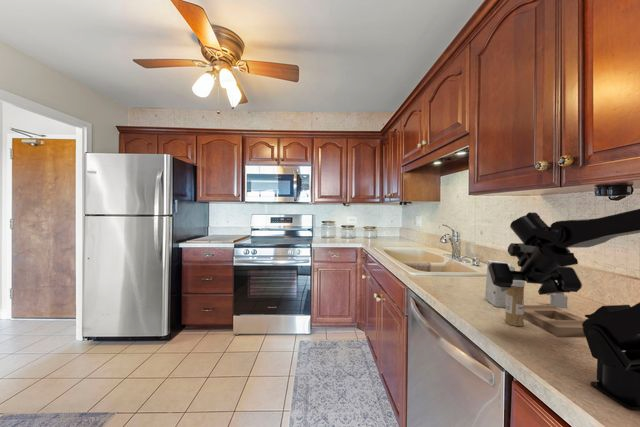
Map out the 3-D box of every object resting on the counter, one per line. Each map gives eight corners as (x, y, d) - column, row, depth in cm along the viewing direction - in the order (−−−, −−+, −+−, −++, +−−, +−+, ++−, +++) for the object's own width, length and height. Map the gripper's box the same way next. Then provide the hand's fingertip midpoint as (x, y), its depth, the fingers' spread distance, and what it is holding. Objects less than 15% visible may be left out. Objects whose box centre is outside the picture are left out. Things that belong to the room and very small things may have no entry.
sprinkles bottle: (525, 328, 74) (526, 281, 73) (505, 324, 76) (506, 278, 76) (522, 322, 77) (523, 277, 77) (503, 318, 80) (504, 275, 80)
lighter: (565, 307, 90) (565, 284, 90) (567, 308, 89) (568, 285, 89) (539, 303, 93) (540, 281, 93) (541, 305, 92) (541, 282, 92)
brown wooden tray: (605, 336, 69) (605, 327, 69) (557, 336, 69) (557, 327, 69) (550, 312, 85) (550, 305, 85) (511, 312, 85) (511, 305, 85)
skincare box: (484, 299, 97) (485, 259, 97) (502, 300, 96) (503, 260, 96) (494, 307, 89) (496, 264, 89) (514, 308, 88) (515, 265, 88)
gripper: (575, 236, 65) (547, 269, 76) (491, 233, 70) (477, 265, 81) (599, 274, 58) (564, 305, 69) (503, 268, 63) (485, 298, 73)
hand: (520, 291), depth 73 cm, fingers open, 9 cm apart
